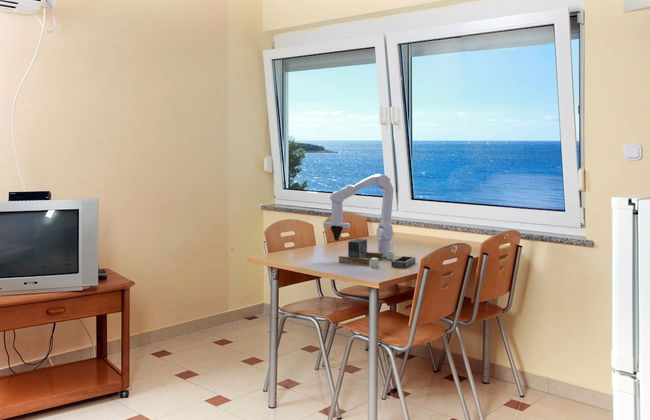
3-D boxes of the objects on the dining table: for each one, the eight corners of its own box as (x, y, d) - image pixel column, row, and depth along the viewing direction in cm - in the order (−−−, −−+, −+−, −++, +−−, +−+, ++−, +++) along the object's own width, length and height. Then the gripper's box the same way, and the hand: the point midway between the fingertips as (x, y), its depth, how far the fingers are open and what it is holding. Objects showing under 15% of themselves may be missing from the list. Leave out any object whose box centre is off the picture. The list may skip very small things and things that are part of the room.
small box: (356, 258, 333) (356, 238, 332) (367, 259, 330) (367, 239, 329) (347, 261, 323) (347, 241, 322) (359, 262, 320) (359, 242, 319)
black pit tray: (402, 261, 324) (402, 256, 324) (415, 262, 321) (415, 257, 321) (391, 266, 310) (391, 261, 310) (405, 268, 307) (405, 262, 307)
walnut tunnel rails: (354, 256, 338) (354, 250, 338) (382, 258, 331) (382, 253, 331) (338, 262, 320) (338, 256, 320) (368, 265, 313) (368, 259, 313)
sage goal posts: (389, 258, 333) (389, 250, 332) (394, 258, 331) (394, 251, 331) (370, 266, 309) (370, 258, 309) (376, 267, 308) (376, 259, 308)
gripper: (321, 214, 329) (320, 240, 330) (346, 216, 323) (346, 242, 324) (327, 213, 335) (326, 238, 337) (352, 214, 329) (351, 240, 330)
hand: (336, 240), depth 331 cm, fingers closed
